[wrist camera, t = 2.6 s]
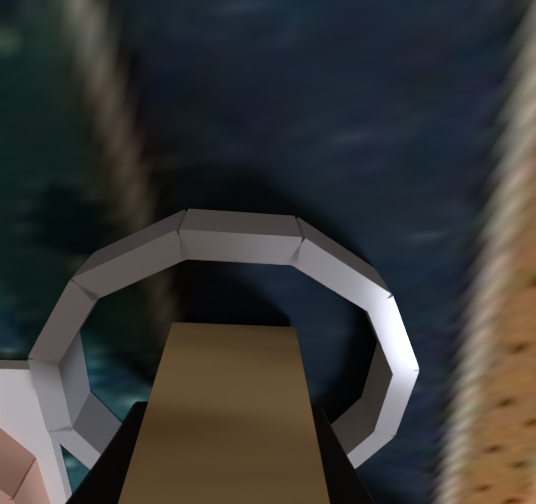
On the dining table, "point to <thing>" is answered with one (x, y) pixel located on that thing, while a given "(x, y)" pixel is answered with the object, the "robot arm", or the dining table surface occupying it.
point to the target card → (31, 427)
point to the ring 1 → (19, 474)
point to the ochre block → (227, 422)
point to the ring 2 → (232, 250)
